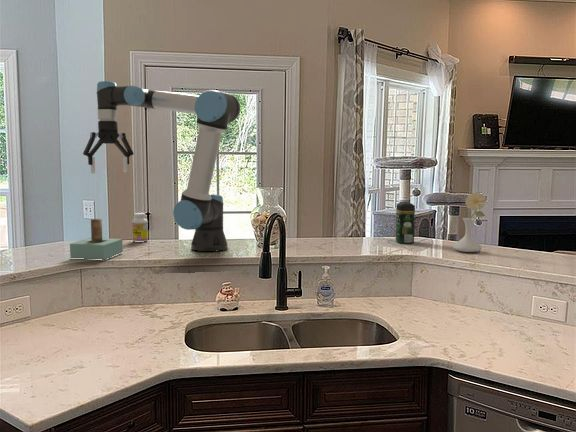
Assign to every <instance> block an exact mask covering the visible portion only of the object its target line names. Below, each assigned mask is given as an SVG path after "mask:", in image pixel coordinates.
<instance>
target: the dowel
mask: <svg viewBox="0 0 576 432" xmlns="http://www.w3.org/2000/svg"><path fill="white" fill-rule="evenodd" d="M90 230H91V231H90V234H91V235H90V236H91V237H90V238H91V240H92V243H101V242H103V241H102V238H103V220H102V218H91V219H90Z"/></svg>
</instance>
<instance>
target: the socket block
mask: <svg viewBox="0 0 576 432" xmlns="http://www.w3.org/2000/svg"><path fill="white" fill-rule="evenodd" d="M102 241H103V242H101V243H92V240H91V237H88V238H84V239H82V240H78V241H75V242H71V243H69V254H70V255H69V257H70V258H84V259H102V260H105V259H107V258H110V257H112V256H114V255H116V254H119V253H121V252H123V251H124V249H123V247H124V246H123V239H122V238H105V237H102Z"/></svg>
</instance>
